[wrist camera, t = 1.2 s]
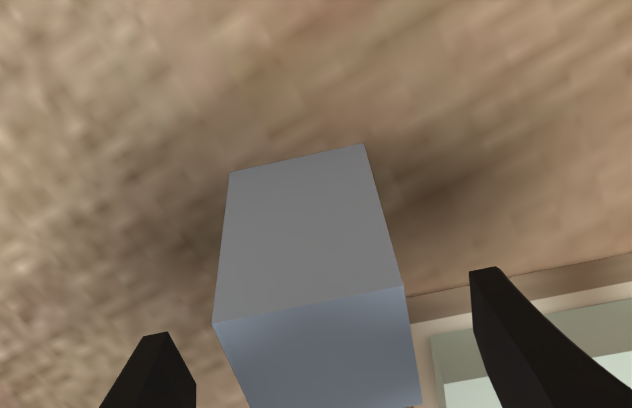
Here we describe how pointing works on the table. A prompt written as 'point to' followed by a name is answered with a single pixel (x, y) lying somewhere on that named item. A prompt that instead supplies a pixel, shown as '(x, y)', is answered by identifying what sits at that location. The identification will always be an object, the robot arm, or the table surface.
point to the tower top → (577, 324)
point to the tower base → (539, 288)
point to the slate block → (313, 288)
